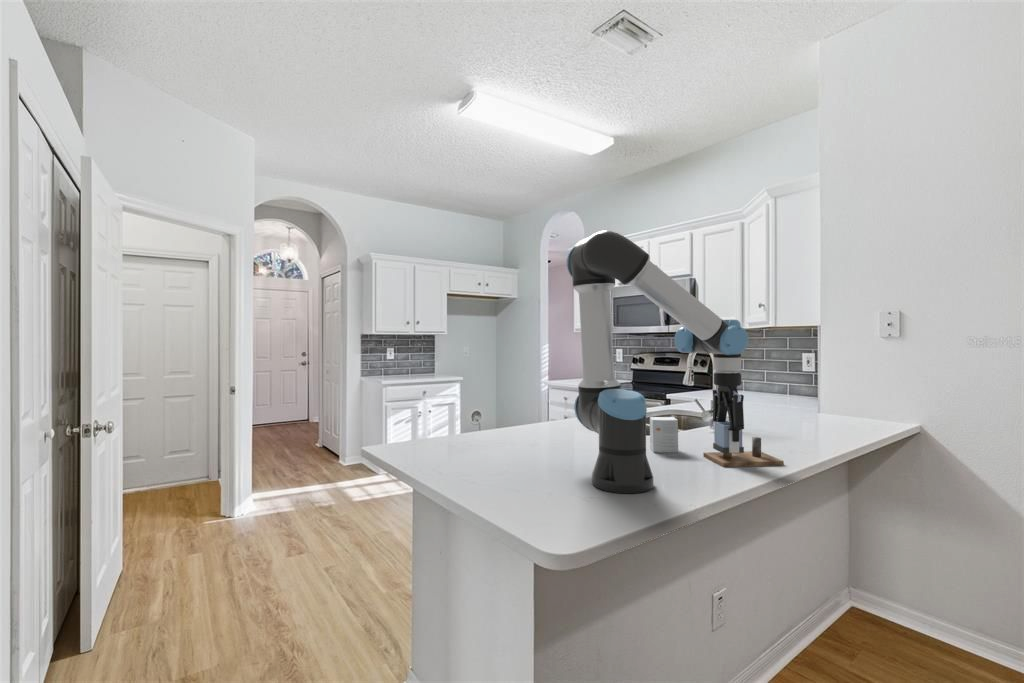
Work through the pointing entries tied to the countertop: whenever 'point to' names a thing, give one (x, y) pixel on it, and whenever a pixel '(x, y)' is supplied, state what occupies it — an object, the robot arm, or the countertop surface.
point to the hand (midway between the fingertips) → (728, 449)
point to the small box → (663, 434)
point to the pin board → (744, 457)
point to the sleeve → (724, 437)
